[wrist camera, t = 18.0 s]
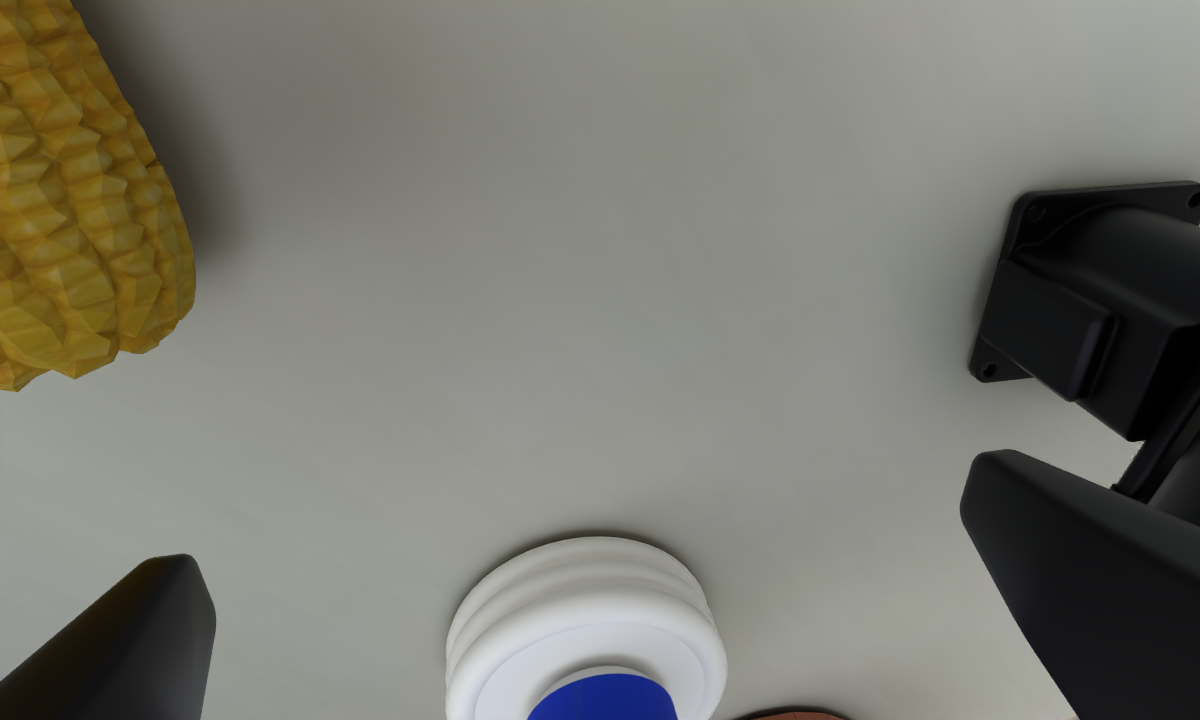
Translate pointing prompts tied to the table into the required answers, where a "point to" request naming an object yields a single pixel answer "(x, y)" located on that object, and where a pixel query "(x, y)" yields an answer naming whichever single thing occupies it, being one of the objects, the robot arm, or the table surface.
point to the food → (78, 207)
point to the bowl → (800, 716)
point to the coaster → (582, 628)
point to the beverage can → (605, 697)
